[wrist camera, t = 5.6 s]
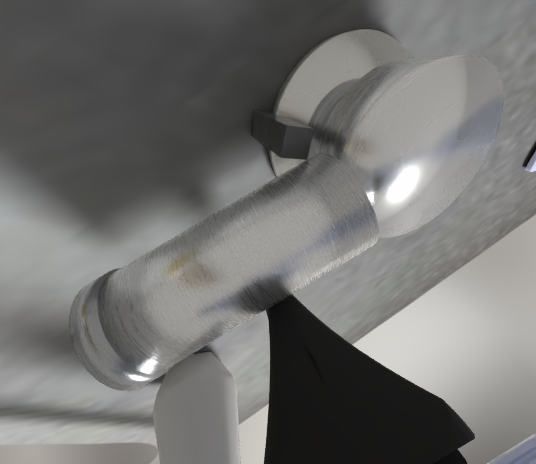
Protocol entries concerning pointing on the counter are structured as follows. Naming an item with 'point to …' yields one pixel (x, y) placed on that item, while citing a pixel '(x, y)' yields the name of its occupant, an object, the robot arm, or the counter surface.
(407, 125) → the elbow
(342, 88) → the duct stub
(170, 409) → the salt shaker
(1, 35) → the counter surface
